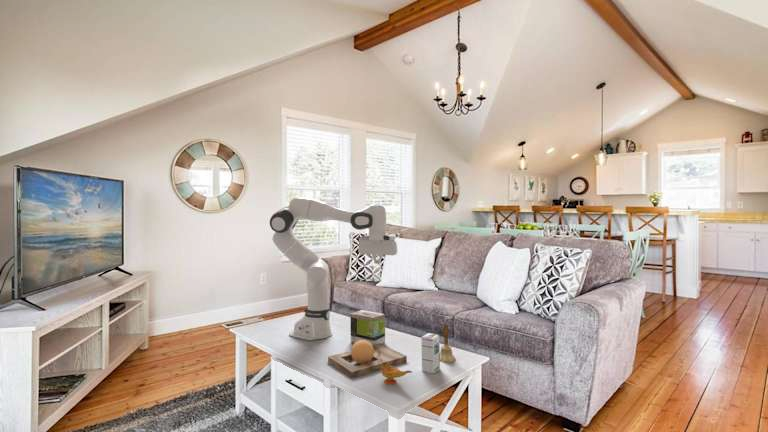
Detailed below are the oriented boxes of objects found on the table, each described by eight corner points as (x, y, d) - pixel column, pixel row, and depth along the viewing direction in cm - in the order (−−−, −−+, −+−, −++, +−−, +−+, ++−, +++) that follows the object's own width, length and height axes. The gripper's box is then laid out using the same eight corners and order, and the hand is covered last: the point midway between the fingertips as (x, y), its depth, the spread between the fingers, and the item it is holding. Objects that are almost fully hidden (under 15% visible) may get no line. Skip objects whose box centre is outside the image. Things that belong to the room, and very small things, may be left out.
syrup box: (434, 374, 161) (434, 338, 160) (421, 370, 164) (421, 336, 163) (439, 369, 165) (440, 334, 165) (427, 366, 169) (427, 332, 168)
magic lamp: (405, 393, 144) (405, 363, 144) (370, 378, 156) (370, 351, 156) (417, 386, 149) (417, 358, 149) (382, 373, 161) (382, 346, 161)
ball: (376, 349, 177) (364, 369, 173) (358, 336, 178) (345, 355, 174) (380, 348, 168) (367, 368, 164) (361, 334, 169) (347, 354, 165)
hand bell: (444, 364, 171) (444, 327, 170) (433, 357, 178) (433, 322, 178) (459, 360, 175) (459, 324, 174) (448, 354, 182) (448, 319, 182)
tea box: (385, 342, 197) (385, 313, 197) (373, 348, 189) (373, 318, 189) (362, 336, 206) (362, 308, 206) (349, 342, 198) (349, 313, 198)
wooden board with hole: (379, 348, 189) (379, 343, 189) (406, 361, 173) (406, 356, 173) (328, 362, 173) (328, 356, 173) (352, 378, 157) (352, 372, 156)
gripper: (356, 236, 201) (356, 263, 202) (394, 237, 195) (394, 265, 195) (361, 235, 207) (361, 261, 208) (398, 236, 200) (398, 263, 201)
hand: (377, 263), depth 201 cm, fingers closed
